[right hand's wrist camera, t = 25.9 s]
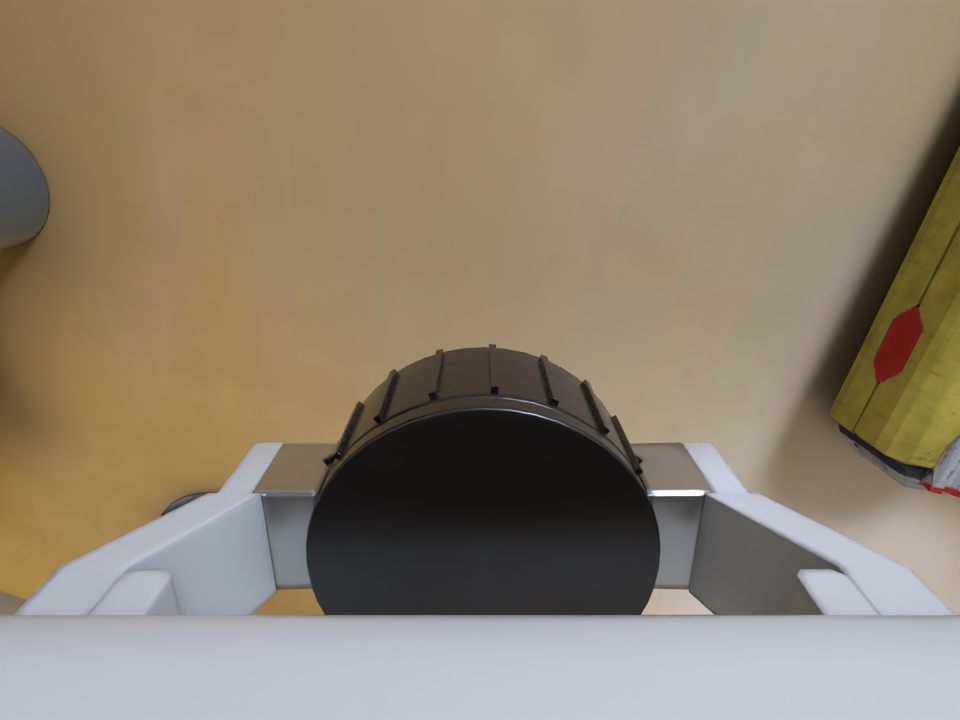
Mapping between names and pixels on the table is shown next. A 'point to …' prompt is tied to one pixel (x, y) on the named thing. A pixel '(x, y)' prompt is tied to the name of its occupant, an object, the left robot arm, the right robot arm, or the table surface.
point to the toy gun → (914, 361)
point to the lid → (483, 497)
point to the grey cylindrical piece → (20, 193)
